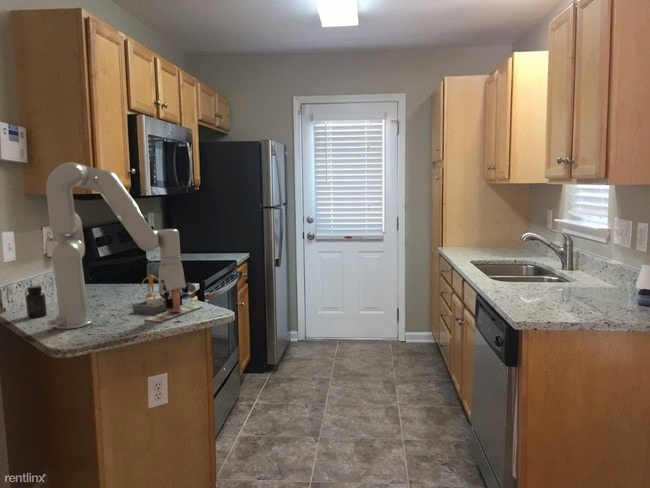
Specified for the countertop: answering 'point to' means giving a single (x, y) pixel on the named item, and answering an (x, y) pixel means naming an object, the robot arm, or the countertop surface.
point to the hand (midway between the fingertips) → (174, 306)
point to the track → (173, 314)
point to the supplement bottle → (36, 302)
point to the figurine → (149, 285)
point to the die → (154, 301)
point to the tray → (149, 308)
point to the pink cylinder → (175, 301)
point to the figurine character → (187, 289)
